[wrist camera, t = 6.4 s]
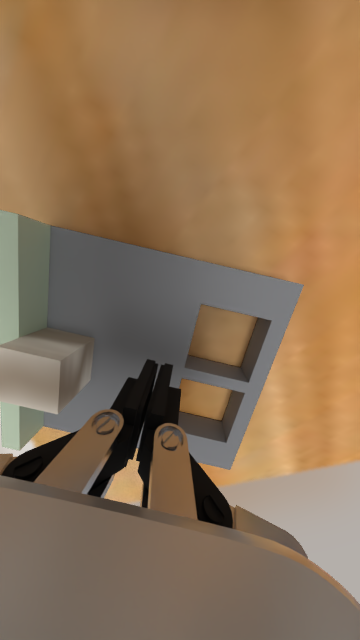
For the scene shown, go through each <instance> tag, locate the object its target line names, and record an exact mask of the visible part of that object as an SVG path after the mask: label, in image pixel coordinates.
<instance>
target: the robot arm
mask: <svg viewBox="0 0 360 640" xmlns="http://www.w3.org/2000/svg"><path fill="white" fill-rule="evenodd" d="M157 369H158V364H157V363H156V361H154V360H150V359H147V360H146V362H145V364H144V366H143V368H142V371H141V373H140V375H139V377H138V379H135V378H131V377H128V378H127V380H126V382H125V383H124V385H123V387H122V389H121V390H120V392H119V394H118V396H117V397H116V399H115V401H114V403H113V404H112V406H111V408H110V409H105V410H101V411H99V412H97V413H95V414H94V415H93V416H92V417H91V418H90V419H89V420H88V421H87V422H86V423H85V424H84V426H83V427H82V428H81V429H80V430H78V431H75V432H73V433H71V434H68V435H66V436H63V437H61V438H58V439H56V440H54V441H51V442H49V443H46V444H44V445H41V446H39V447H37V448H34V449H32V450H29V451H27V452H25V453H23V454H21V455H19V456H18V457H13V454H0V640H360V604H359V603H358V602H357V601H356V599H355V598H354V597H353V596H352V595H351V594H350V593H349V592H348V591H347V590H346V589H345V588H344V587H343V586H342V585H341V584H340V583H339V582H337V581H336V580H335V579H334V578H333V577H332V576H330V575H329V574H328V573H326V572H325V571H324V570H323V569H321V568H320V567H319V566H318V565H316V564H315V563H313V562H312V561H310V560H309V559H308V557H307V555H306V553H305V551H304V550H303V548H302V546H301V545H300V544H299V542H298V541H297V540H296V539H295V538H294V537H293V536H292V535H291V534H289V533H288V532H286V531H285V530H283V529H281V528H279V527H277V526H275V525H273V524H272V523H269V522H268V521H266V520H264V519H262V518H260V517H258V516H256V515H254V514H252V513H250V512H249V511H247V510H245V509H243V508H241V507H239V506H237V505H236V507H235V508H234V507H232V506H230V505H229V504H228V502H227V500H226V499H225V497H224V496H223V495H222V493H221V492H220V491H219V489H218V488H217V487H216V486H215V484H214V483H213V482H212V481H211V479H210V478H209V477H208V475H207V474H206V473H205V472H204V470H203V469H202V468H201V467H200V465H199V464H198V463H197V462H196V460H195V459H194V458H193V456H192V455H191V454H190V453H189V449H188V441H187V436H186V434H185V432H184V430H183V429H182V428H181V427H179V426H178V420H179V408H180V397H181V389H178V388H174V387H170V380H171V375H172V370H173V365H171V364H167V363H165V365H161V366H160V370H159V373H158V376H157V379H156V382H155V378H156V373H157ZM154 383H155V386H154ZM153 387H154V389H153ZM143 424H144V425H143ZM142 428H143V430H142ZM141 431H142V435H141V440H140V444H139V449H138V454H137V458H136V461H140V463H139V468H138V473H139V475H140V477H141V479H142V481H143V485H142V493H141V503H140V507H138V506H135V505H130V504H126V503H122V502H117V501H113V500H109V499H104V496H105V495H106V493H107V491H108V489H109V487H110V485H111V483H112V481H113V479H114V476H115V473H117V472H118V471H120V470H121V469H123V468H124V467H126V465H127V462H128V459H131V460H133V457H134V454H135V451H136V447H137V444H138V441H139V437H140V434H141Z"/></svg>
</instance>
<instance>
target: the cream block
mask: <svg viewBox="0 0 360 640" xmlns="http://www.w3.org/2000/svg"><path fill="white" fill-rule="evenodd" d="M94 340H95V338H92V337H87V336H83V335H79V334H74V333H70V332H65V331H61V330H57V329H52V328H48V327H47V328H44V329H41V330H39V331H36V332H33V333H31V334H28V335H25V336H23V337H20V338H17V339H14V340H12V341H9V342H6V343H4V344H1V345H0V401H1V402H5V403H9V404H14V405H18V406H23V407H27V408H31V409H36V410H40V411H45V412H49V413H53V414H59V413H60V412H61V411H62V409H63V408H64V407H65V406H66V405H67V404H68V403H69V402H70V401H71V400H72V399H73V398H74V397H75V396H76V395H77V394H78V393H79V392H80V390H81V389H82V388H83V387H84V386H85V385H86V384H87V383H88V382H89V381H90V379H91V369H92V360H93V350H94Z"/></svg>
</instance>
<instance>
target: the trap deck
mask: <svg viewBox="0 0 360 640" xmlns="http://www.w3.org/2000/svg"><path fill="white" fill-rule="evenodd" d="M303 286H304V285H302V284H298V283H294V282H289V281H285V280H281V279H277V278H272V277H268V276H264V275H259V274H255V273H251V272H247V271H242V270H238V269H234V268H230V267H225V266H221V265H217V264H213V263H208V262H204V261H200V260H196V259H191V258H187V257H183V256H178V255H174V254H170V253H166V252H161V251H157V250H153V249H149V248H144V247H140V246H136V245H132V244H127V243H123V242H119V241H114V240H110V239H106V238H102V237H97V236H93V235H89V234H85V233H80V232H76V231H72V230H68V229H63V228H59V227H55V226H51V225H48V224H45V223H42V222H39V221H36V220H33V219H30V218H28V217H25V216H22V215H19V214H15V213H11V212H7V211H2V210H0V345H1V344H4V343H6V342H9V341H12V340H14V339H17V338H20V337H23V336H25V335H28V334H31V333H33V332H36V331H39V330H41V329H44V328H47V327H48V328H52V329H57V330H61V331H65V332H70V333H74V334H79V335H83V336H87V337H92V338H95V340H94V350H93V360H92V369H91V379H90V381H89V382H88V383H87V384H86V385H85V386H84V387H83V388H82V389H81V390H80V392H79V393H78V394H77V395H76V396H75V397H74V398H73V399H72V400H71V401H70V402H69V403H68V404H67V405H66V406H65V407H64V408H63V409H62V411H61V412H60V413H59V414H53V413H49V412H45V411H40V410H36V409H31V408H27V407H23V406H18V405H14V404H9V403H5V402H1V401H0V409H1V435H2V447H6V448H10V449H15V450H19V451H20V450H21V449H22V448H23V447H24V446H25V445H26V444H27V443H28V441H29V440H30V439H31V438H32V437H33V436H34V435H35V434H36V433H37V432H38V431H39V430H40V429H41V428H42V427H43V426H45V427H50V428H54V429H58V430H62V431H67V432H71V433H73V432H75V431H78V430H80V429H81V428H82V427H83V426H84V424H85V423H86V422H87V421H88V420H89V419H90V418H91V417H92V416H93V415H94V414H95V413H97V412H99V411H101V410H105V409H110V408H111V406H112V404H113V403H114V401H115V399H116V397H117V396H118V394H119V392H120V390H121V389H122V387H123V385H124V383H125V382H126V380H127V378H128V377H131V378H135V379H138V377H139V375H140V373H141V371H142V368H143V366H144V364H145V362H146V360H147V359H150V360H154V361H156V363H157V364H158V369H157V373H156V378H155V382H156V379H157V376H158V373H159V370H160V366H161V365H165V363H167V364H171V365H173V370H172V375H171V380H170V387H174V388H178V389H179V386H180V383H181V379H182V378H183V379H188V380H192V381H196V382H200V383H205V384H209V385H213V386H217V387H222V388H226V389H230V390H233V391H232V394H231V397H230V400H229V402H228V405H227V408H226V411H225V414H224V417H223V420H222V421H218V420H213V419H209V418H205V417H201V416H196V415H192V414H188V413H183V412H179V420H178V426H179V427H181V428H182V429H183V430H184V432H185V434H186V436H187V441H188V449H189V453H190V454H191V455H192V456H193V458H194V459H195V460H196V462H199V463H203V464H207V465H212V466H216V467H220V468H224V469H229V470H230V469H231V466H232V464H233V461H234V459H235V456H236V454H237V451H238V449H239V446H240V444H241V441H242V439H243V436H244V434H245V431H246V429H247V426H248V424H249V421H250V419H251V416H252V414H253V411H254V409H255V406H256V404H257V401H258V399H259V396H260V394H261V391H262V389H263V386H264V384H265V381H266V379H267V376H268V374H269V371H270V369H271V366H272V364H273V361H274V358H275V356H276V353H277V351H278V348H279V346H280V343H281V341H282V338H283V336H284V333H285V331H286V328H287V326H288V323H289V321H290V318H291V316H292V313H293V311H294V308H295V306H296V303H297V301H298V298H299V296H300V293H301V291H302V288H303ZM201 304H203V305H208V306H212V307H216V308H220V309H225V310H229V311H233V312H238V313H242V314H246V315H250V316H255V317H258V320H257V323H256V325H255V328H254V331H253V334H252V337H251V340H250V343H249V345H248V348H247V351H246V354H245V357H244V360H243V363H242V365H241V368H240V367H235V366H231V365H227V364H223V363H218V362H214V361H210V360H206V359H201V358H197V357H193V356H189V355H188V352H189V348H190V344H191V340H192V336H193V332H194V329H195V325H196V321H197V317H198V313H199V309H200V306H201ZM154 386H155V383H154ZM153 389H154V387H153ZM143 425H144V424H143ZM142 430H143V428H142ZM141 435H142V431H141V434H140V437H139V441H138V444H137V447H136V448H139V444H140V440H141Z"/></svg>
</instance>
